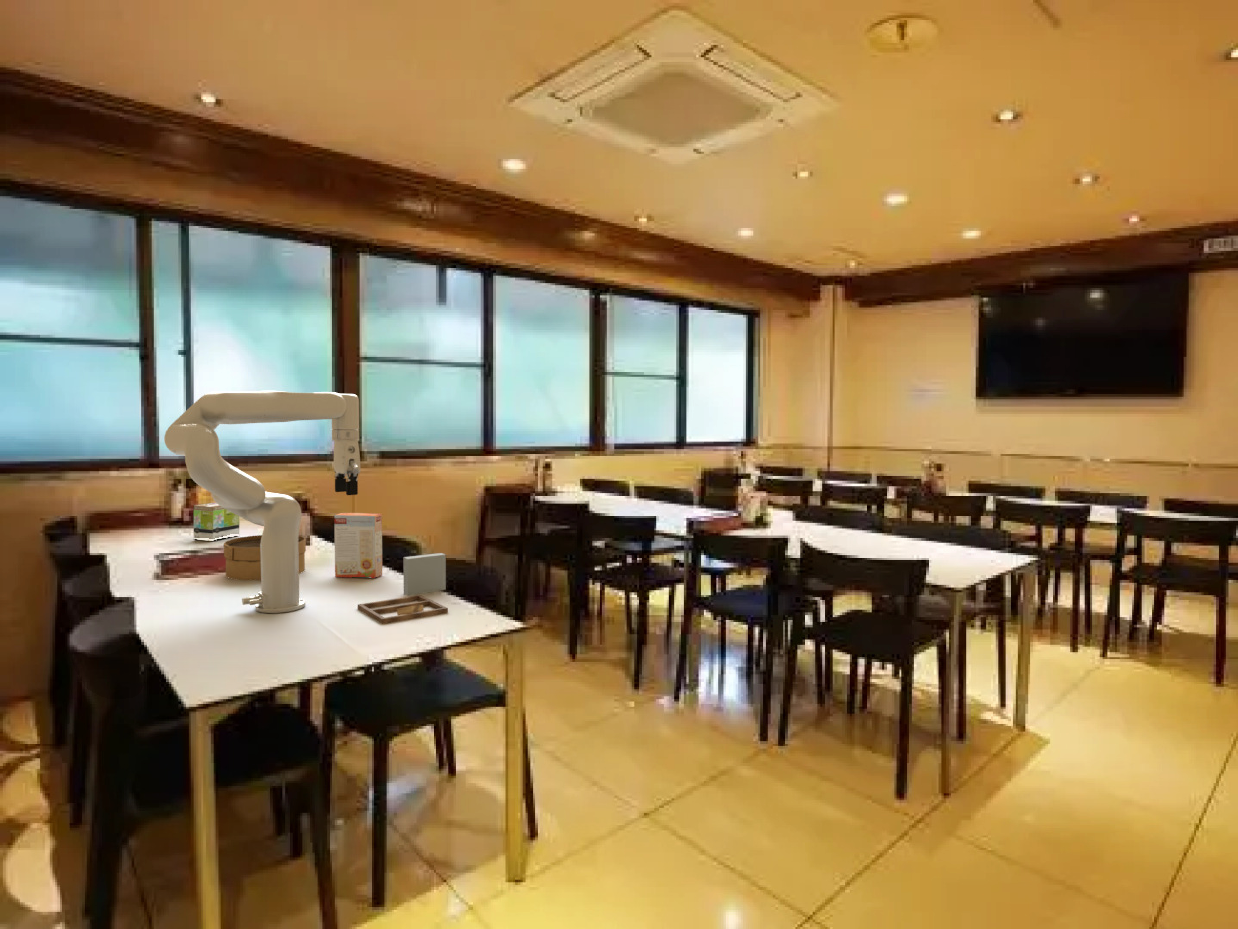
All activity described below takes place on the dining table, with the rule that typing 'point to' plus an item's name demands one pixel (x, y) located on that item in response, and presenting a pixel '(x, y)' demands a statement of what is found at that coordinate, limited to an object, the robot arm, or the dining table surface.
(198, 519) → the tea box
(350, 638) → the dining table surface
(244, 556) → the steamer basket
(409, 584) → the grey panel
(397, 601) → the frame
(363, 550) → the cracker box
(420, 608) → the upper offcut
